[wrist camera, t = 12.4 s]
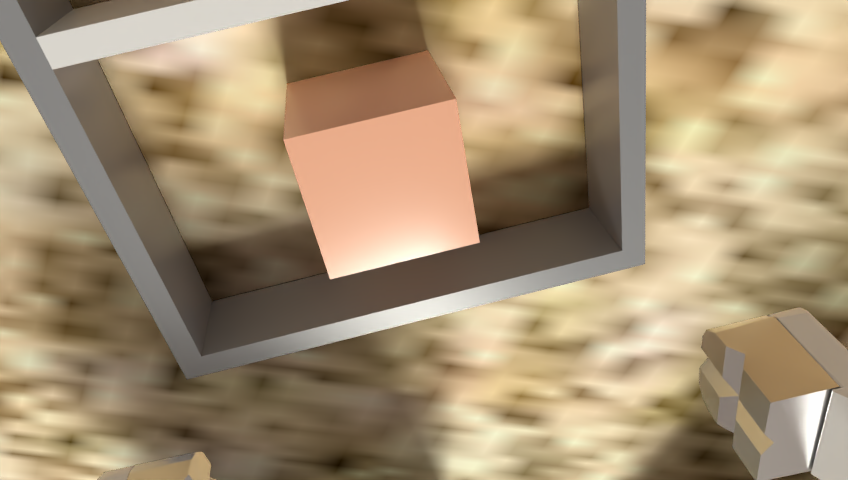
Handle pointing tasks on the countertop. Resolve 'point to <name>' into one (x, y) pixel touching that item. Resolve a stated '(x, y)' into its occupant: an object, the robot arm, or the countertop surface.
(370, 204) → the terracotta block
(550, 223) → the frame
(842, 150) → the countertop surface
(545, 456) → the countertop surface
